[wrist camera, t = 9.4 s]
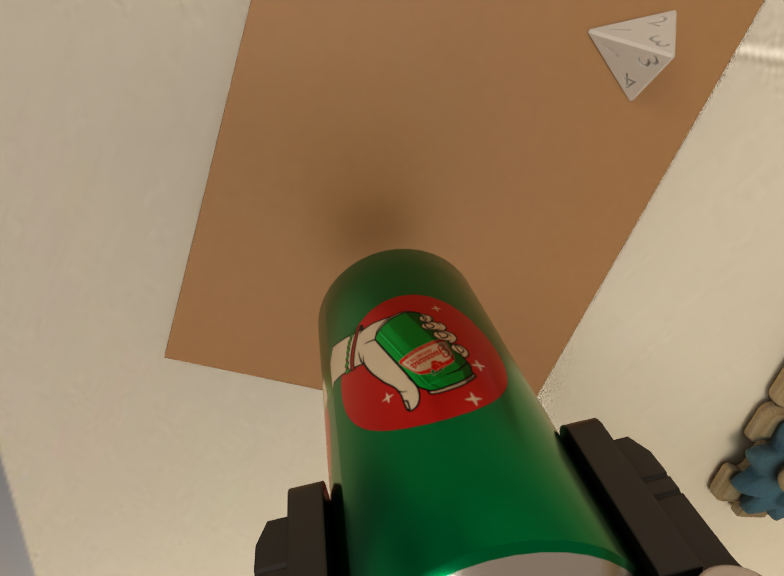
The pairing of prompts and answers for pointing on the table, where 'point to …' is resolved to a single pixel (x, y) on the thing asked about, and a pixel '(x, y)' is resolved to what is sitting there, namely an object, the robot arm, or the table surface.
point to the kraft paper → (432, 164)
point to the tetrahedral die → (637, 49)
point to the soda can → (444, 438)
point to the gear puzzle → (758, 463)
